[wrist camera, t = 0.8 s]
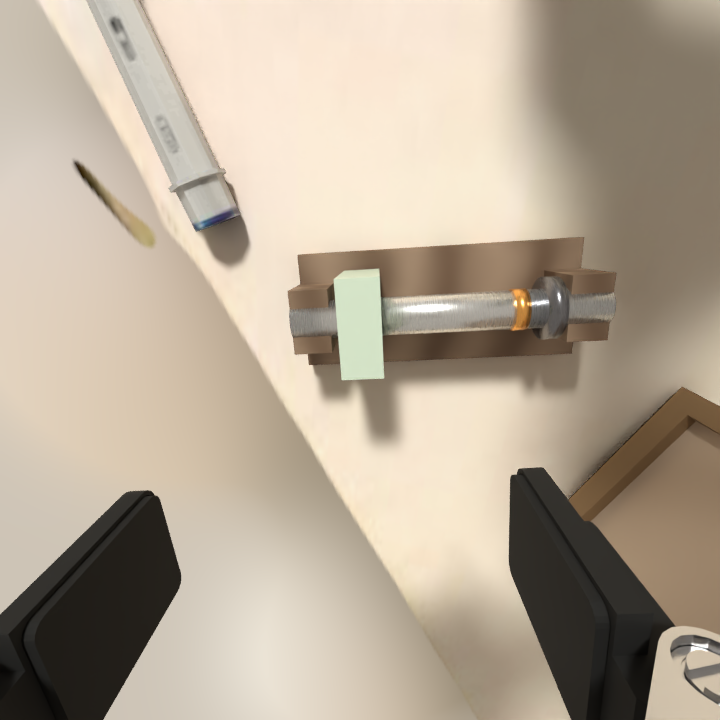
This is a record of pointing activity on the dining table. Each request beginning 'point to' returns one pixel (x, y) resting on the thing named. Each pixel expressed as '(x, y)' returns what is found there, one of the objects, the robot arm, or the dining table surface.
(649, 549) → the photo frame
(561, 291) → the steel pipe
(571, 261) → the walnut base
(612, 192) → the dining table surface
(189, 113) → the grey handheld flashlight
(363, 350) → the sage collar
